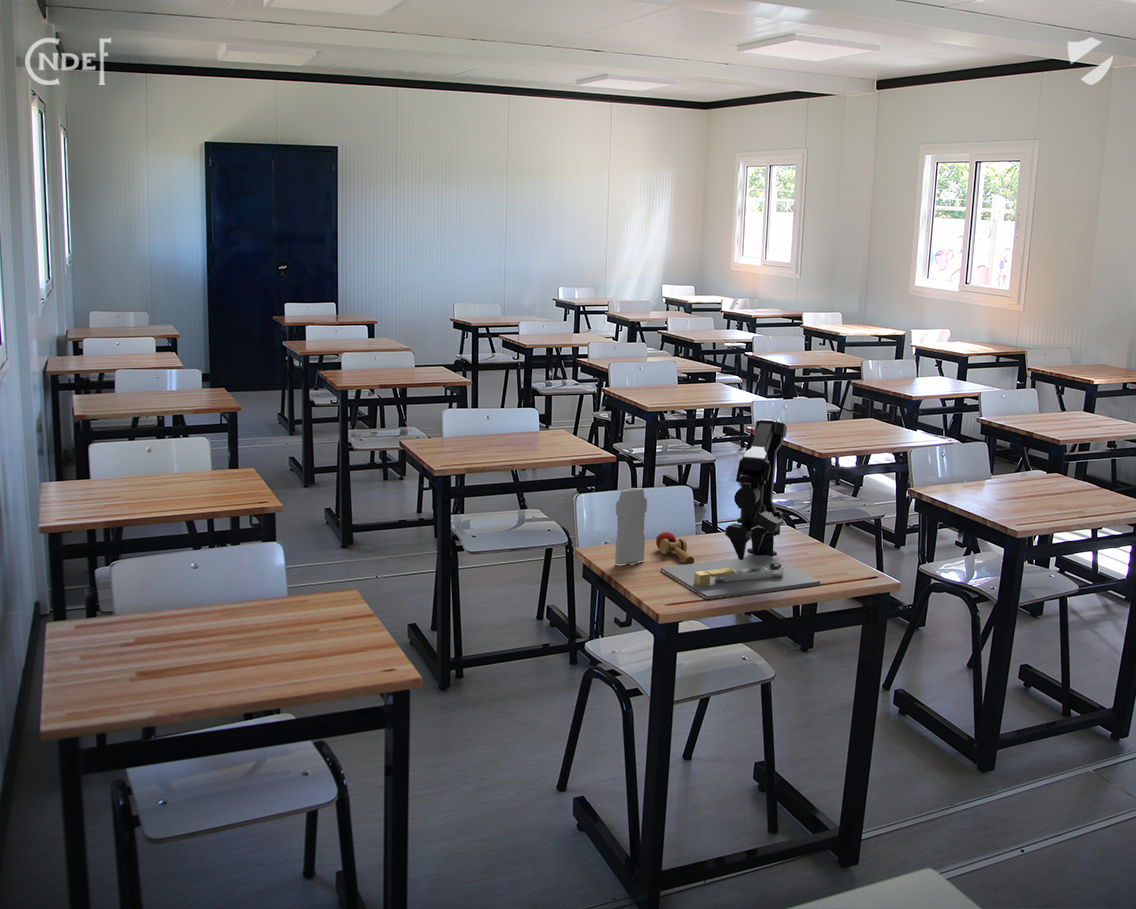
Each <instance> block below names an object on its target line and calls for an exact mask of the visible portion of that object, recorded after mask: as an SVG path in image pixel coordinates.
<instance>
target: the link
mask: <svg viewBox="0 0 1136 909" xmlns="http://www.w3.org/2000/svg"><path fill="white" fill-rule="evenodd" d="M783 570H784V568H783V567H781V568H777V569H775V568H772V567H770V566H768V567H760V568H750V569H739V570H733V571H735V574H731V575H723V576H715V581H717V582H729V581H740V580H750V579H760V578H770V577H774V578H780V577H783Z"/></svg>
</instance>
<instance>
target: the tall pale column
mask: <svg viewBox="0 0 1136 909" xmlns="http://www.w3.org/2000/svg"><path fill="white" fill-rule="evenodd" d="M647 510H648V498H647V497H646V496H645V491H644V488H641V487H638V488H636V487H629V488H627V489H623V490H621V491H620V494H619V498H618V500H617V501H616V503H615V514H616V516H617V518H616V520H617V523H616V524H617V530H616V531H617V532H616V535H617V537H616V540H615V556H614V558H615V559H614V560H615V561H614V565H615V564H620V565H621V564H634V563H637V562H639V561H643V560H644V561H645V546H646V544H645V543H646V541H645V540H646V539H645V538H646V537H645V533H644V531H645V520H646V519H645V518H646V512H647Z"/></svg>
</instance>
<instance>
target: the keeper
mask: <svg viewBox="0 0 1136 909" xmlns="http://www.w3.org/2000/svg"><path fill="white" fill-rule="evenodd" d="M731 574H735V571H733V570H731V569H730V568H723V569H715V570H707V571H706V572H705V571H699V572H694V584H695V585H696V586H698V587H708V586H710V576H711V577H715V576H723V575H731Z"/></svg>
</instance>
